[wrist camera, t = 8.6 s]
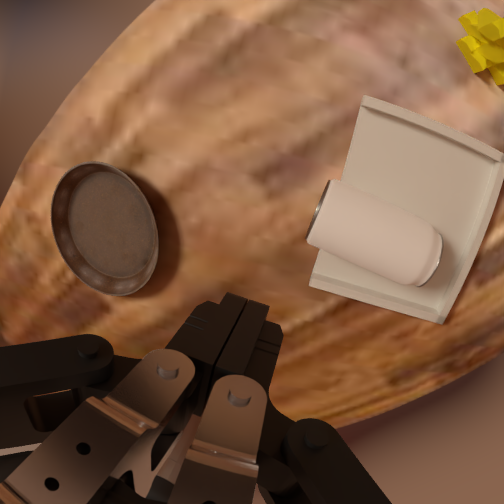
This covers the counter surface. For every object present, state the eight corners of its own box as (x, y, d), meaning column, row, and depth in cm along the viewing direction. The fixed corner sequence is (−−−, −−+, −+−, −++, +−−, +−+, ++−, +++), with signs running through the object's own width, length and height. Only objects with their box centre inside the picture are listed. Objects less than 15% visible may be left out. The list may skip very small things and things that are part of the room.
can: (328, 179, 32) (429, 227, 31) (304, 238, 33) (405, 283, 32) (332, 172, 25) (454, 231, 24) (302, 245, 27) (425, 299, 25)
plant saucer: (190, 274, 39) (180, 285, 37) (94, 295, 45) (82, 304, 42) (139, 135, 34) (124, 137, 32) (50, 186, 40) (35, 191, 37)
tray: (310, 278, 36) (308, 285, 34) (362, 96, 27) (364, 94, 26) (438, 316, 33) (442, 324, 32) (501, 155, 25) (509, 156, 24)
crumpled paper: (483, 91, 24) (519, 85, 17) (443, 25, 22) (470, 1, 15) (517, 75, 21) (555, 68, 14) (480, 11, 20) (510, -11, 13)
